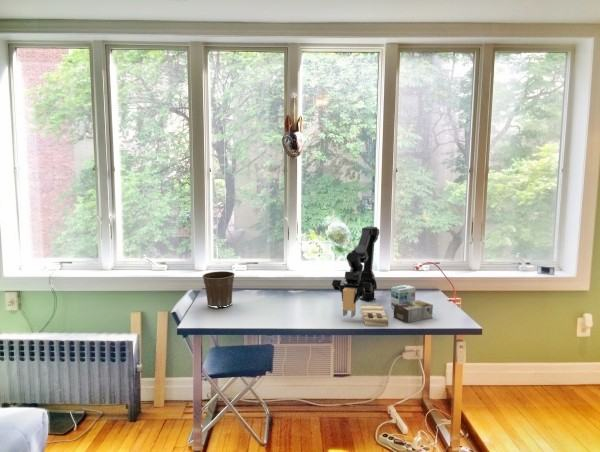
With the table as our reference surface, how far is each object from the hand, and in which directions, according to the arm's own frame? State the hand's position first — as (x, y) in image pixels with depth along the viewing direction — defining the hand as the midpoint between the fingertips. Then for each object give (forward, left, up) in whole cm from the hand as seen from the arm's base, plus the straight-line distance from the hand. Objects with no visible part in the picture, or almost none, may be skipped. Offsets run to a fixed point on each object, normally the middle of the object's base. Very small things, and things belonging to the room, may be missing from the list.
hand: (348, 302), depth 195 cm
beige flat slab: (+5, +12, -8) cm, 16 cm away
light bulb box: (+4, +34, -9) cm, 36 cm away
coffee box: (+18, +34, -5) cm, 39 cm away
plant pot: (-59, -35, -9) cm, 69 cm away
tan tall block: (-1, +1, -7) cm, 7 cm away
